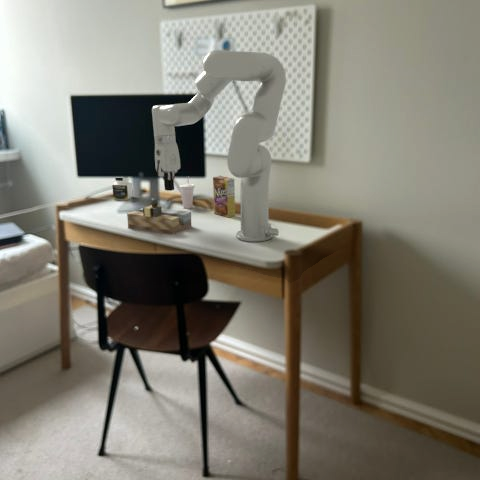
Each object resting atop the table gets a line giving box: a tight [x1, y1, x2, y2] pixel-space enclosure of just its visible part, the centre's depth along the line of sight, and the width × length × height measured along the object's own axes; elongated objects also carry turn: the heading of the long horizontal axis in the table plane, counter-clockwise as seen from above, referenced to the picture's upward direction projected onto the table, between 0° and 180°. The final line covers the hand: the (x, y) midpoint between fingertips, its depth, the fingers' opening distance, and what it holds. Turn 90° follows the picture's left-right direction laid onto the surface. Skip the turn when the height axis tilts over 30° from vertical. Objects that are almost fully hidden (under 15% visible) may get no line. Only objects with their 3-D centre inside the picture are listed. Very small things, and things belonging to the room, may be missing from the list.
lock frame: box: [126, 204, 192, 235], centre depth 190 cm, size 20×12×8 cm, turn 63°
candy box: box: [212, 175, 236, 218], centre depth 206 cm, size 9×4×15 cm, turn 41°
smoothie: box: [178, 177, 195, 210], centre depth 218 cm, size 6×6×14 cm
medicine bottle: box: [111, 177, 133, 201], centre depth 237 cm, size 7×7×12 cm
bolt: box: [144, 198, 161, 217], centre depth 186 cm, size 2×6×5 cm, turn 153°
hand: (169, 189), depth 192 cm, fingers closed
